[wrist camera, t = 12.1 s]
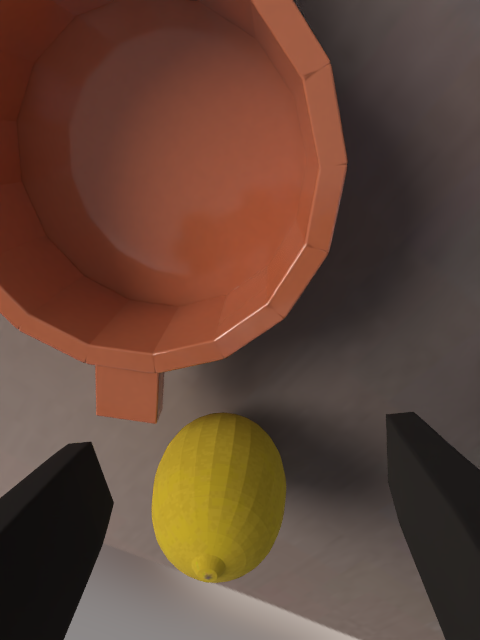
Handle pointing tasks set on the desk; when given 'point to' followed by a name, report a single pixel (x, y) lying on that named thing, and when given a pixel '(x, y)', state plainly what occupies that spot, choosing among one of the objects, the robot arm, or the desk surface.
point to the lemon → (218, 497)
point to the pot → (161, 180)
